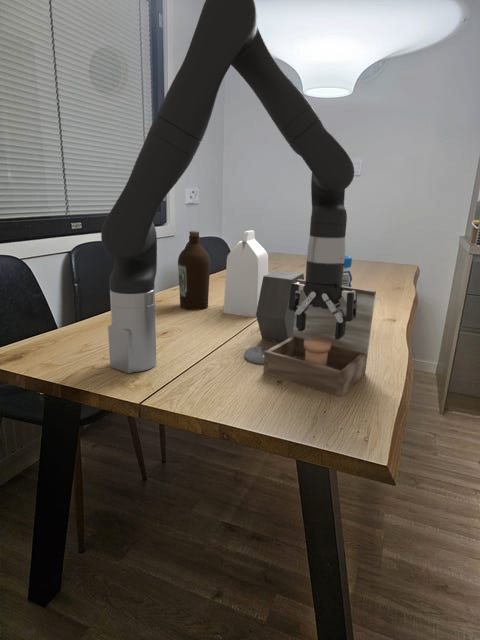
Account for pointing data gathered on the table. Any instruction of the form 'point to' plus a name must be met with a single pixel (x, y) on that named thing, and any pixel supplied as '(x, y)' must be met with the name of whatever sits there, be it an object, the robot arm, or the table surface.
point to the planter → (276, 305)
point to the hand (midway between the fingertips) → (319, 334)
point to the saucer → (255, 354)
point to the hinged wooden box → (342, 355)
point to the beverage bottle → (347, 272)
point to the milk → (245, 276)
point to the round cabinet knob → (317, 350)
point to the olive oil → (194, 275)
